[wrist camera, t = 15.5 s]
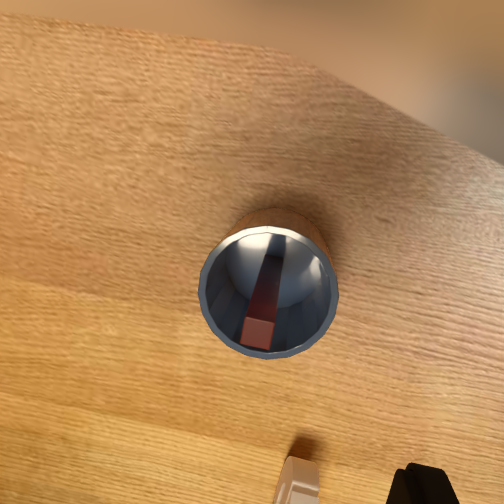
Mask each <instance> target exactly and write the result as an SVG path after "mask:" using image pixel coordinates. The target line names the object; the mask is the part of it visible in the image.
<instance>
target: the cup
mask: <svg viewBox="0 0 504 504" xmlns="http://www.w3.org/2000/svg"><path fill="white" fill-rule="evenodd" d="M265 254H267V255H272V256H277V257H282V258H284V259H283V267H282V275H281V283H280V290H279V298H278V306H277V314H276V321H275V327H274V332H273V336H272V341H271V346H270V349H269V350H266V349H262V348H257V347H252V346H248V345H243V344H240V339H241V334H242V329H243V324H244V319H245V315H246V312H247V309H248V305H249V302H250V299H251V296H252V293H253V290H254V287H255V284H256V280H257V277H258V274H259V271H260V268H261V265H262V262H263V259H264V255H265ZM198 296H199V301H200V306H201V311H202V314H203V316H204V318H205V320H206V321H207V323H208V325H209V327H210V329H211V330H212V332H213V333H214V334H215V335H216V336H217V337H218V338H219V339H220V340H222V341H223V342H224V343H225V344H226V345H227V346H228V347H230V348H232V349H234V350H236V351H238V352H240V353H242V354H244V355H247V356H250V357H256V358H261V359H266V360H267V359H278V358H288V357H291V356H293V355H295V354H298V353H300V352H302V351H305V350H307V349H309V348H310V347H311V346H312V345H313V344H314V343H316V342H317V341H318V340H319V339H320V338H321V337H323V335H324V334H325V333H326V331H327V329H328V328H329V326H330V324H331V323H332V321H333V319H334V317H335V314H336V309H337V304H338V299H339V292H338V284H337V276H336V273H335V270H334V266H333V263H332V260H331V257H330V254H329V251H328V248H327V245H326V243H325V241H324V239H323V237H322V235H321V233H320V232H319V230H318V229H317V228H316V226H315V225H314V224H313V223H312V222H311V221H309V220H308V219H307V218H306V217H304V216H302V215H301V214H299V213H296V212H294V211H291V210H288V209H283V208H266V209H261V210H258V211H255V212H252V213H250V214H248V215H247V216H245V217H243V218H242V219H240V220H239V221H238V222H237V223H236V224H235V226H234V227H233V228H232V229H231V230H230V231H229V232H228V233H227V234H226V235H225V236H224V237H223V239H222V240H221V241H220V242H219V243H218V244H217V245H216V247H215V248H214V249H213V250H212V251H211V252H210V254H209V256H208V258H207V260H206V262H205V264H204V266H203V268H202V270H201V273H200V279H199V287H198Z"/></svg>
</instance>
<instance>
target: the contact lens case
mask: <svg viewBox="0 0 504 504" xmlns="http://www.w3.org/2000/svg"><path fill="white" fill-rule="evenodd" d="M319 489H320V484H319V471H318V466H317V464H316V463H315V462H312V461H308V460H304V459H301V458H297V457H293V456H288V458H287V459H286V461H285V463H284V466H283V468H282V471H281V475H280V478H279V481H278V485H277V489H276V493H275V497H274V501H273V504H319V498H317V496H318V493H319Z"/></svg>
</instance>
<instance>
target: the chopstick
mask: <svg viewBox="0 0 504 504" xmlns="http://www.w3.org/2000/svg"><path fill="white" fill-rule="evenodd" d="M283 259H284V258H282V257H277V256H272V255H267V254H265V255H264V259H263V262H262V265H261V268H260V271H259V274H258V277H257V280H256V284H255V287H254V290H253V293H252V296H251V299H250V302H249V305H248V309H247V312H246V315H245V319H244V324H243V329H242V334H241V339H240V344H243V345H248V346H252V347H257V348H262V349H266V350H269V349H270V346H271V341H272V336H273V332H274V327H275V321H276V314H277V306H278V298H279V290H280V283H281V275H282V267H283Z"/></svg>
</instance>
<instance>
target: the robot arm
mask: <svg viewBox="0 0 504 504" xmlns="http://www.w3.org/2000/svg"><path fill="white" fill-rule="evenodd" d="M386 504H460V503H459V501H458V499H457V497H456V494H455V492H454V490H453V488H452V486H451V483H450V481H449V479H448V477H447V475H446V473H445V472H444V471H443V470H442V469H439V468H434V467H430V466H425V465H421V464H416V463H409V464H408V465H407V467H406V469H405V470H404V469H397V471H396V473H395V475H394V479H393V482H392V485H391V489H390V492H389V495H388V499H387V502H386Z"/></svg>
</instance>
